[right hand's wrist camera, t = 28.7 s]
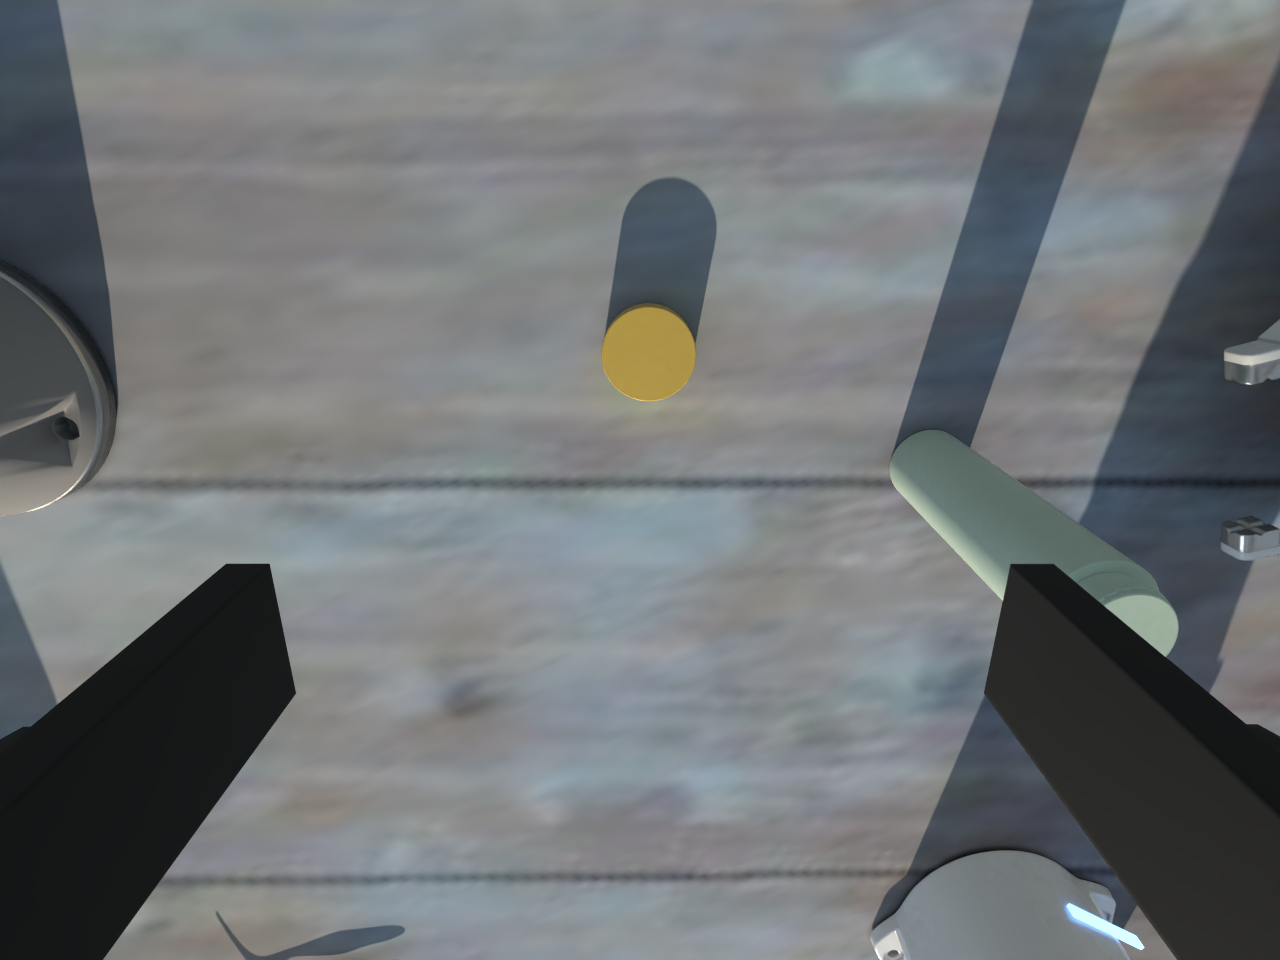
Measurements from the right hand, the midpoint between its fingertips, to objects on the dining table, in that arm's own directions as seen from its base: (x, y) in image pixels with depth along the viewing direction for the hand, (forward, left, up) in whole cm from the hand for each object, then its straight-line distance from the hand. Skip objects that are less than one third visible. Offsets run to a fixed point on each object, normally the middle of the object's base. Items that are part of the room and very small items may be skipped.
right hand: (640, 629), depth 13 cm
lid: (0, 0, -28) cm, 28 cm away
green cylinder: (+14, +12, -30) cm, 35 cm away
